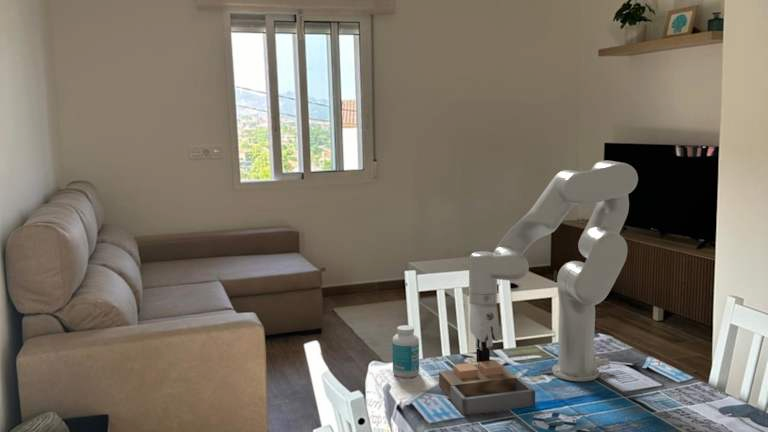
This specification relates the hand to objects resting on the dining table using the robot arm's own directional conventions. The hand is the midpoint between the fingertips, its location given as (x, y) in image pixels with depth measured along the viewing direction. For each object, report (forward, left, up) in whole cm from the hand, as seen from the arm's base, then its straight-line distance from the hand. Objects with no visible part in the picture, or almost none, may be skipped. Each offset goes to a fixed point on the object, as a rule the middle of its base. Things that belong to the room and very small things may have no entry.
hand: (483, 362), depth 189 cm
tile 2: (0, +5, -1) cm, 5 cm away
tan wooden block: (+4, +6, -5) cm, 9 cm away
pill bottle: (+19, -10, -5) cm, 22 cm away
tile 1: (+7, +5, -1) cm, 9 cm away
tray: (+4, +16, -5) cm, 17 cm away
